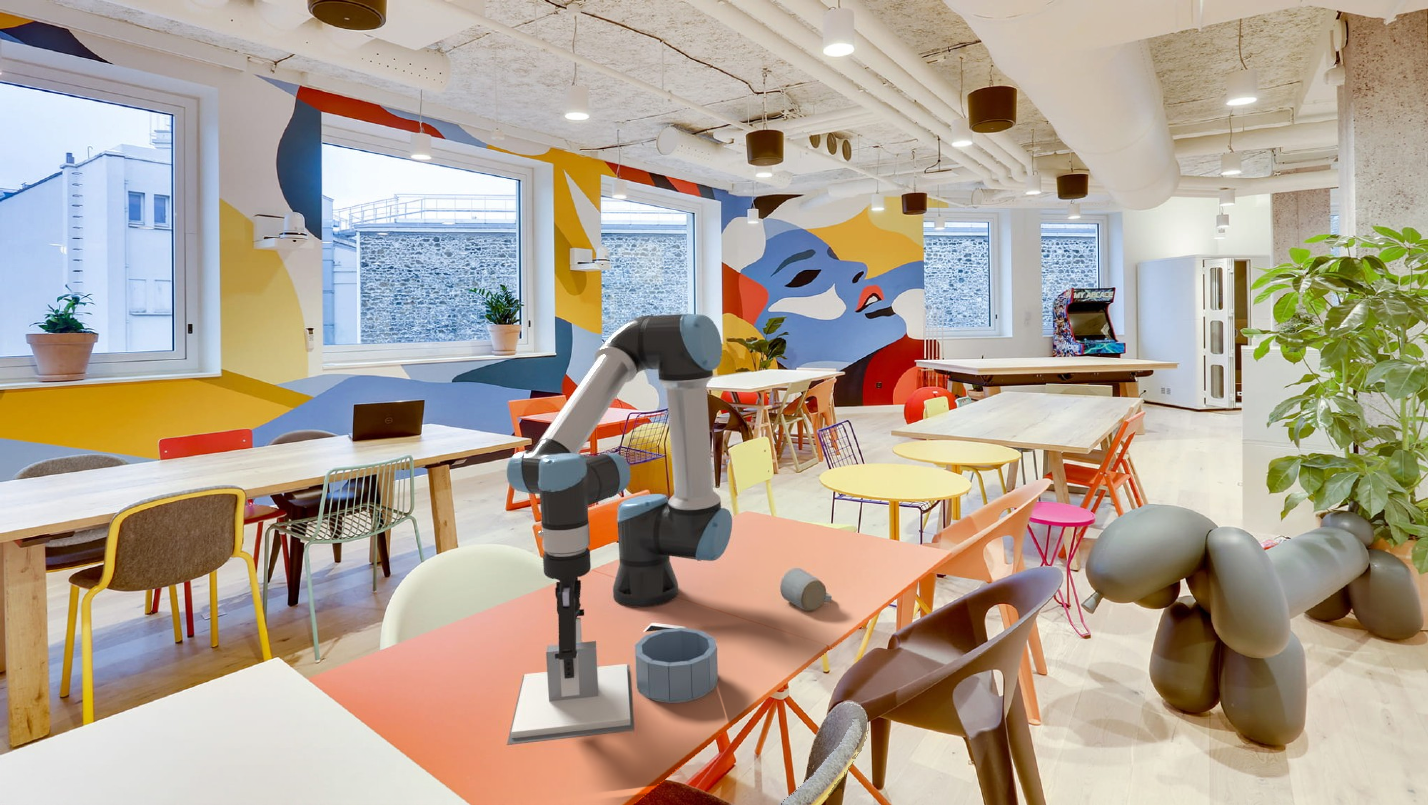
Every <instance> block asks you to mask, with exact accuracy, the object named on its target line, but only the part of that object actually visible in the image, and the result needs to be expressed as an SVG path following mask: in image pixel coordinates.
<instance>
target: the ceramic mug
mask: <svg viewBox="0 0 1428 805" xmlns="http://www.w3.org/2000/svg"><path fill="white" fill-rule="evenodd" d="M779 587H780V591H779V592H780V594H781V596H782V598H783V599H784V600H786V601H787V602H789V603H791V604H793V605H795V606H797V607H798V608H800V609H801V610H804V611H808V612H814V611H817V610H818V609H820V608H821V607H822V606H823V604H824V603H828V604H829V603H831V600H832V595H831V594H830V593H828V592H827V588H826V586H825V584H824V583H823V582H822V581H821V580H820V579H819V578H817V577H816V576H814V575H812V574H810V573H809V572H807V571H806V570H804V569H802V568H799V567H794V568H791V569H789V570H787V572H786V573H784V575H783V577H782V578H781V581H780V586H779Z"/></svg>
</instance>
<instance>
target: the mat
mask: <svg viewBox="0 0 1428 805" xmlns="http://www.w3.org/2000/svg"><path fill="white" fill-rule="evenodd" d="M627 676H628V692H629V708H630V725H625V726H617V727H608V728H599V729H590V730H581V731H572V732H563V733H555V734H546V735H537V736H528V737H519V738H512V735H511V731H512V727H513V723H514V718H515V714H516V710H517V705H518V701H519V697H520V692H521V688H522V684H523V680H524V675H522V679H521V683H520V687H519V691H518V696H517V701H516V704H515V709H514V712H513V716H512V722H511V725H510V731H509V734H508V735H509V736H508V739H507V743H506V746H508V745H517V744H526V743H535V742H543V741H553V740H562V739H569V738H570V739H571V738H579V737H588V736H597V735H605V734H614V733H622V732H631V731H632V732H633V731H635V724H634V723H635V722H634V710H633V696H632V683H631V680H632V679H631V668H630V664H627Z"/></svg>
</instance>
